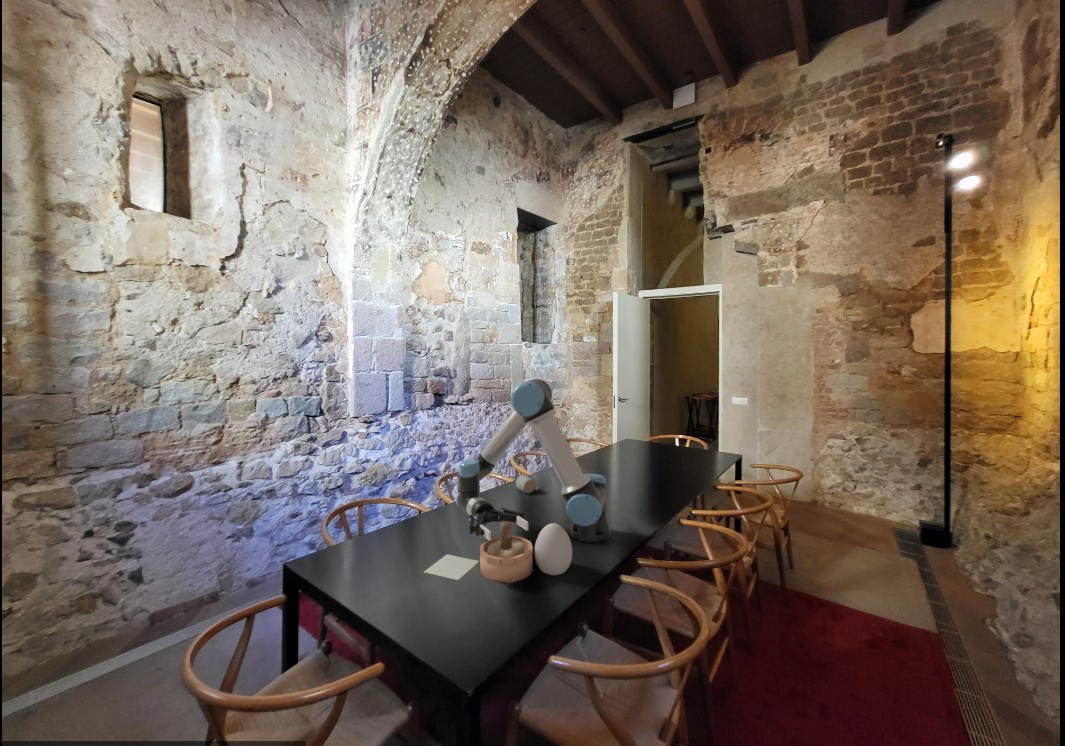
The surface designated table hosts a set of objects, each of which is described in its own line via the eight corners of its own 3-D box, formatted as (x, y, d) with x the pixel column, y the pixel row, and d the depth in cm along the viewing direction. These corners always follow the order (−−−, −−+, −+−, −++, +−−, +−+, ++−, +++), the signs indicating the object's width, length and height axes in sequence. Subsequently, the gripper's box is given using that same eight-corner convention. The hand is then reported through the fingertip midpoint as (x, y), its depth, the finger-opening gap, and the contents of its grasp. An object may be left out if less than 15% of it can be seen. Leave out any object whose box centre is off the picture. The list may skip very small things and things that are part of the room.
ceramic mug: (524, 495, 215) (524, 479, 214) (515, 491, 222) (515, 475, 221) (541, 491, 221) (542, 476, 220) (532, 487, 227) (532, 472, 227)
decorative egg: (567, 558, 151) (566, 515, 150) (576, 576, 139) (576, 530, 138) (531, 561, 149) (531, 518, 148) (538, 580, 137) (538, 533, 136)
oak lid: (530, 546, 147) (530, 520, 146) (515, 563, 136) (514, 534, 135) (498, 540, 151) (498, 515, 151) (480, 556, 140) (480, 528, 140)
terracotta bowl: (540, 562, 148) (540, 540, 148) (519, 588, 133) (518, 563, 132) (495, 553, 155) (495, 532, 155) (470, 576, 140) (469, 553, 139)
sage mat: (479, 562, 149) (479, 561, 149) (458, 581, 137) (458, 580, 137) (446, 555, 154) (446, 554, 154) (423, 573, 142) (423, 572, 142)
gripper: (511, 513, 166) (542, 533, 148) (447, 528, 153) (473, 552, 135) (510, 493, 166) (541, 511, 148) (447, 507, 152) (472, 528, 134)
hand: (509, 531), depth 141 cm, fingers open, 13 cm apart
